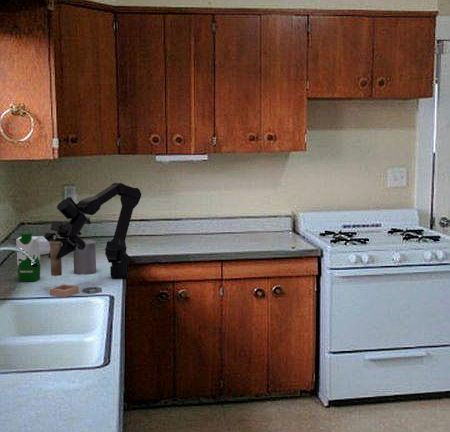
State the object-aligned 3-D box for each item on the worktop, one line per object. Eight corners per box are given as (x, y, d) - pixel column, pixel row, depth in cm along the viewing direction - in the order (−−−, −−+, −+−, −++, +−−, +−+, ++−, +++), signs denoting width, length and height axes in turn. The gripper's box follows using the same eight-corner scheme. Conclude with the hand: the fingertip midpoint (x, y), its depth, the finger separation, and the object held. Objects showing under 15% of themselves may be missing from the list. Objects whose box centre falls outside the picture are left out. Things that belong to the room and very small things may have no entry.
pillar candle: (72, 271, 291) (71, 237, 289) (94, 269, 294) (93, 236, 292) (75, 275, 282) (74, 241, 280) (98, 273, 285) (97, 240, 283)
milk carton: (16, 282, 269) (13, 234, 266) (22, 277, 278) (20, 231, 275) (37, 282, 269) (35, 234, 267) (42, 277, 278) (41, 231, 276)
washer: (101, 288, 257) (101, 286, 257) (102, 292, 250) (102, 290, 250) (82, 289, 255) (82, 287, 255) (83, 293, 249) (83, 291, 248)
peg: (61, 273, 253) (60, 240, 252) (62, 275, 249) (61, 241, 247) (50, 274, 252) (48, 240, 250) (50, 276, 248) (49, 242, 246)
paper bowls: (58, 254, 331) (58, 239, 330) (27, 257, 326) (26, 241, 325) (54, 250, 345) (54, 235, 344) (25, 252, 340) (24, 237, 339)
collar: (63, 290, 254) (63, 284, 253) (78, 293, 250) (78, 286, 250) (49, 295, 247) (49, 288, 247) (65, 297, 243) (64, 290, 243)
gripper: (46, 211, 256) (24, 243, 249) (78, 215, 245) (56, 248, 238) (63, 229, 263) (42, 260, 256) (95, 233, 252) (74, 265, 245)
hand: (53, 258), depth 248 cm, fingers closed on peg, 4 cm apart
